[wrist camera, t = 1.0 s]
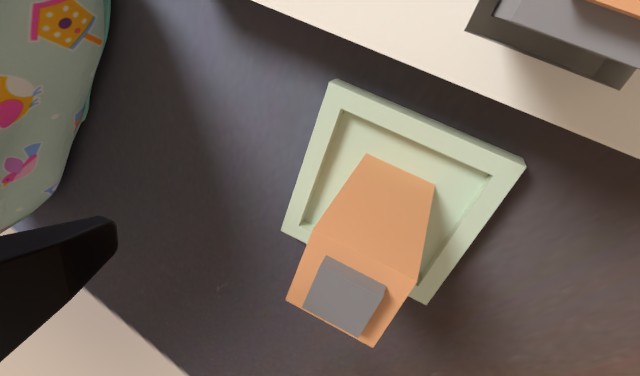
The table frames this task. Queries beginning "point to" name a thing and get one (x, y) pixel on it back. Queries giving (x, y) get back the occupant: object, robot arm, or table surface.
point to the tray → (411, 156)
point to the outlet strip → (491, 60)
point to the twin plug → (582, 24)
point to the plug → (365, 250)
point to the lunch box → (43, 93)
